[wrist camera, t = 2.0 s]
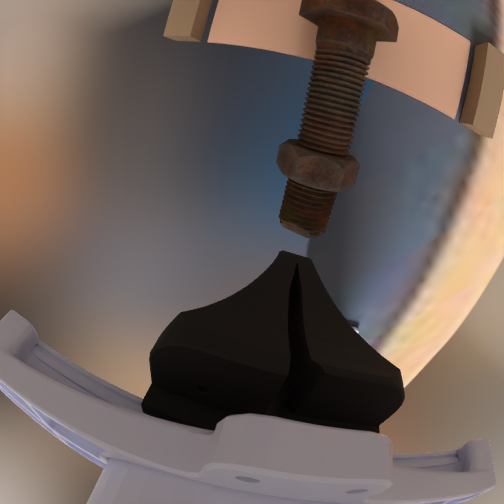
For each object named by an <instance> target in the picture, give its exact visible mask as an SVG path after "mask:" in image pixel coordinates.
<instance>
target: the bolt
mask: <svg viewBox="0 0 504 504" xmlns="http://www.w3.org/2000/svg"><path fill="white" fill-rule="evenodd" d="M299 15H300V16H301V17H303V18H305V19H307V20H308V21H310V22H312V23H313V24H315V25H316V26H318V30H317V36H316V41H315V42H316V49H317V50H315V53H316V54H317V55H315V56H314V58H315V59H316V60H314V61H313V63H314V64H315V65H313V66H312V68H313V69H314V70H313V71H311V73H312V74H313V76H311V77H310V79H311V80H312V82H309V83H308V84H309V85H310V86H311V87H308V88H307V89H308V90H309V91H310V92H307V93H306V94H307V95H308V96H309V97H307V98H305V99H306V100H307V101H308V102H306V103H304V104H305V105H306V107H307V108H303V110H304V111H305V112H306V113H304V114H302V116H303V117H304V118H303V119H301V121H302V122H303V124H301V125H300V126H301V127H302V129H300V130H299V132H300V133H301V134H299V135H298V137H299V139H289V140H287V141H285V142H284V143H282V144H281V145H280V146H279V151H278V156H277V161H276V162H277V164H278V167H279V169H280V170H281V172H282V173H283V174H284V175H285V176H286V177H288V179H289V180H288V181H287V186H286V190H285V195H284V200H283V201H282V206H281V210H280V214H279V218H280V223H281V224H282V226H283V227H285V228H287V229H289V230H291V231H293V232H295V233H297V234H300V235H302V236H304V237H306V238H313V237H316V236H319V235H320V234H323V233H324V232H325V229H326V227H327V223H328V219H329V215H330V214H331V210H332V208H333V207H332V205H334V200H335V196H336V195H337V192H342V191H345V190H347V189H348V188H350V187H351V186H352V185H353V184H354V183H355V180H356V177H357V173H358V170H359V167H360V166H359V164H358V163H357V161H356V159H355V158H354V157H353V156H352V155H350V154H349V152H348V151H347V149H350V146H349V145H348V144H351V143H352V142H351V140H350V139H351V138H353V136H352V135H351V133H354V130H353V129H352V128H354V127H356V126H355V124H354V123H355V122H357V120H356V119H355V117H358V116H359V115H358V114H357V113H356V112H359V111H360V110H359V109H358V108H357V107H359V106H361V104H360V103H359V101H362V99H361V98H360V96H362V95H363V94H362V93H361V91H364V88H363V87H362V86H364V85H366V83H365V82H363V81H365V80H367V78H366V77H365V76H366V75H368V72H367V70H369V69H370V68H369V67H368V65H370V64H371V59H372V58H373V57H374V52H375V47H376V42H397V37H398V31H399V26H398V22H397V19H396V16H395V14H394V13H393V11H392V10H390V9H389V8H388V7H386V6H385V5H383V4H382V3H380V2H378V1H376V0H302V1H301V6H300V10H299Z"/></svg>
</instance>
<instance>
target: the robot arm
mask: <svg viewBox="0 0 504 504" xmlns="http://www.w3.org/2000/svg"><path fill="white" fill-rule="evenodd" d="M358 333H359V331H358V328H356V327H353V326H351V325H350V324H349V323H348V322H347V320H346V319H345V318H344V316H343V315H342V314H341V312H340V311H339V310H338V308H337V307H336V305H335V304H334V302H333V301H332V299H331V297H330V296H329V294H328V292H327V291H326V289H325V287H324V285H323V283H322V281H321V279H320V277H319V275H318V273H317V271H316V269H315V266H314V264H313V262H312V260H311V259H310V258H306V257H303V256H300V255H296V254H293V253H290V252H286V251H280V252H279V254H278V256H277V258H276V259H275V260H274V262H273V263H272V264H271V265H270V266H269V268H267V270H266V271H265V272H264V273H262V274H261V275H260V276H259V277H258V278H257V279H255V280H254V281H253V282H252V283H250V284H249V285H248V286H246V287H245V288H243V289H242V290H240V291H238V292H236V293H235V294H233V295H231V296H230V297H227V298H225V299H223V300H221V301H218V302H216V303H213V304H211V305H208V306H205V307H201V308H197V309H194V310H189V311H185V312H181V313H180V314H178V315H177V317H175V319H174V320H173V321H172V322H171V323H170V324H169V325H168V326H167V327H166V329H165V330H164V331H163V332H162V334H161V335H160V337H159V338H158V340H157V342H156V343H155V345H154V347H153V349H152V350H151V352H150V358H149V362H150V371H151V380H152V384H151V386H150V388H149V390H148V391H147V393H146V395H145V397H144V399H142V398H140V397H137V396H135V395H133V394H131V393H129V392H127V391H125V390H123V389H121V388H119V387H117V386H114V385H113V384H111V383H109V382H107V381H105V380H103V379H101V378H99V377H97V376H95V375H94V374H92V373H90V372H88V371H87V370H85V369H83V368H82V367H80V366H78V365H76V364H75V363H73V362H71V361H70V360H68V359H67V358H65V357H63V356H62V355H60V354H59V353H57V352H56V351H54V350H53V349H51V348H50V347H48V346H47V345H45V344H44V343H42V342H41V341H40V340H39V338H38V335H37V332H36V330H35V329H34V327H33V326H32V325H31V324H30V323H29V322H28V321H27V320H26V319H24V318H23V317H22V316H20V315H19V314H18V313H16V312H15V311H14V310H10V311H9V312H8V313H7V314H6V315H5V316H4V318H3V319H2V320H1V321H0V389H1V391H2V392H3V393H4V394H5V395H7V396H8V397H9V398H10V399H11V400H12V401H13V402H14V403H15V404H16V405H17V406H19V407H20V408H21V409H22V410H23V411H24V412H25V413H27V414H28V415H29V416H30V417H31V418H33V419H34V420H35V421H36V422H37V423H39V424H40V425H41V426H42V427H43V428H45V429H46V430H47V431H49V432H50V433H51V434H53V435H54V436H55V437H57V438H58V439H60V440H61V441H62V442H63V443H65V444H66V445H68V446H69V447H71V448H72V449H74V450H75V451H76V452H78V453H80V454H81V455H83V456H84V457H86V458H87V459H89V460H91V461H92V462H94V463H96V464H97V465H99V466H101V467H102V468H104V469H103V472H102V474H101V476H100V478H99V480H98V482H97V484H96V486H95V488H94V490H93V492H92V494H91V496H90V498H89V500H88V502H87V504H460V503H463V502H465V501H467V500H469V499H472V498H473V497H476V496H478V495H480V494H482V493H484V492H486V491H488V490H490V489H492V488H494V487H495V486H496V479H495V471H494V464H493V458H492V452H491V447H490V442H489V439H488V438H484V439H477V440H473V441H470V442H468V443H466V444H465V445H463V446H461V447H460V448H459V449H458V450H453V451H444V452H433V453H417V454H393V453H392V443H391V441H390V439H389V437H387V436H386V435H382V434H379V425H380V424H381V423H383V422H384V421H385V420H386V419H388V418H389V417H390V416H391V415H392V414H393V413H395V412H396V411H397V410H398V409H399V407H400V406H401V405H402V403H403V401H404V398H405V394H404V387H403V381H402V376H401V372H400V369H399V368H397V367H396V366H395V365H393V364H392V363H391V362H389V361H388V360H387V359H385V358H384V357H383V356H381V355H380V354H379V353H378V352H377V351H376V350H374V349H373V348H372V347H371V346H370V345H369V344H368V343H367V342H366V341H365V340H364V339H363V338H362V337H361V336H360V335H359V334H358Z"/></svg>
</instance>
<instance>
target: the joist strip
mask: <svg viewBox="0 0 504 504" xmlns="http://www.w3.org/2000/svg"><path fill="white" fill-rule="evenodd" d="M212 1H213V0H173V3H172V7H171V10H170V13H169V17H168V21H167V24H166V28H165V32H164V36H165V37H168V38H171V39H173V40H176V41H196V42H201V41H202V37H203V33H204V29H205V26H206V22H207V18H208V15H209V11H210V8H211V5H212ZM301 1H302V0H219V2H218V5H217V9H216V12H215V15H214V20H213V23H212V26H211V30H210V34H209V38H208V41H207V42H211V43H222V44H231V45H239V46H246V47H252V48H259V49H265V50H270V51H275V52H280V53H285V54H289V55H294V56H298V57H302V58H306V59H310V60H316V59H315V58H314V56H315V55H317V54H316V53H315V50H317V49H316V42H315V41H316V36H317V30H318V26H316V25H315V24H313V23H312V22H310V21H308V20H307V19H305V18H303V17H301V16H300V15H299V10H300V6H301ZM376 1H378V2H380V3H382V4H383V5H385V6H386V7H388V8H389V9H390V10H392V11H393V13H394V14H395V16H396V19H397V22H398V26H399V31H398V37H397V42H376V47H375V52H374V57H373V58H372V59H371V64H370V65H368V67H369V68H370V69H369V70H367V72H368V75H366V76H365V77H367V78H369V79H372V80H374V81H377V82H379V83H382V84H384V85H387V86H389V87H391V88H394V89H396V90H398V91H401V92H403V93H405V94H407V95H409V96H411V97H413V98H415V99H418V100H420V101H422V102H424V103H425V104H427V105H429V106H431V107H433V108H435V109H437V110H439V111H441V112H442V113H444V114H446V115H448V116H449V117H451V118H453V119H455V117H456V113H457V109H458V105H459V101H460V97H461V93H462V88H463V84H464V79H465V74H466V68H467V63H468V57H469V50H470V43H471V42H470V41H469V40H467V39H466V38H464V37H463V36H461V35H459V34H458V33H456V32H455V31H453V30H451V29H450V28H448V27H446V26H444V25H443V24H441V23H439V22H437V21H435V20H434V19H432V18H430V17H428V16H426V15H424V14H422V13H420V12H418V11H416V10H414V9H412V8H409V7H407V6H405V5H403V4H400V3H398V2H396V1H393V0H376ZM503 89H504V54H503V53H502V52H501V51H499V50H498V49H497V48H495V47H494V46H493V45H492V44H490V43H489V42H486V43H482V44H478V45H475V50H474V57H473V63H472V69H471V74H470V80H469V85H468V89H467V94H466V98H465V102H464V106H463V110H462V114H461V118H460V122H459V123H461V124H463V125H464V126H466V127H468V128H469V129H471V130H472V131H474V132H475V133H477V134H478V135H482V136H485V137H488V138H493V134H494V130H495V126H496V122H497V118H498V114H499V110H500V105H501V100H502V95H503Z"/></svg>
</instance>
